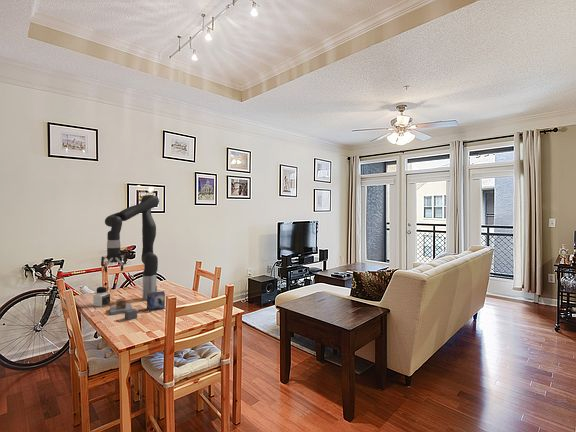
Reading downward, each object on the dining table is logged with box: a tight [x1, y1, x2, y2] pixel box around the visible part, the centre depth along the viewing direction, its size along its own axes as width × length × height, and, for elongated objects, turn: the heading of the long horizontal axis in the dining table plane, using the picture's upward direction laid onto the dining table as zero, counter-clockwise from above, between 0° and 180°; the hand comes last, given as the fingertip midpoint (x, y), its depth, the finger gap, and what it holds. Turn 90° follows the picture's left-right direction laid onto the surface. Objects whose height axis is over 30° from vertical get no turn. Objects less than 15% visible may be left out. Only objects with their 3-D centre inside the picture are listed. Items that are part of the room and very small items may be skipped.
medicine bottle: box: [92, 286, 111, 307], centre depth 214 cm, size 7×7×12 cm
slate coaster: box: [109, 303, 133, 316], centre depth 202 cm, size 12×12×2 cm
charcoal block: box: [124, 308, 138, 321], centre depth 189 cm, size 5×5×5 cm
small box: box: [146, 290, 166, 311], centre depth 208 cm, size 11×6×10 cm, turn 117°
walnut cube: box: [115, 298, 126, 309], centre depth 202 cm, size 5×5×5 cm
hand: (113, 271), depth 204 cm, fingers open, 8 cm apart
